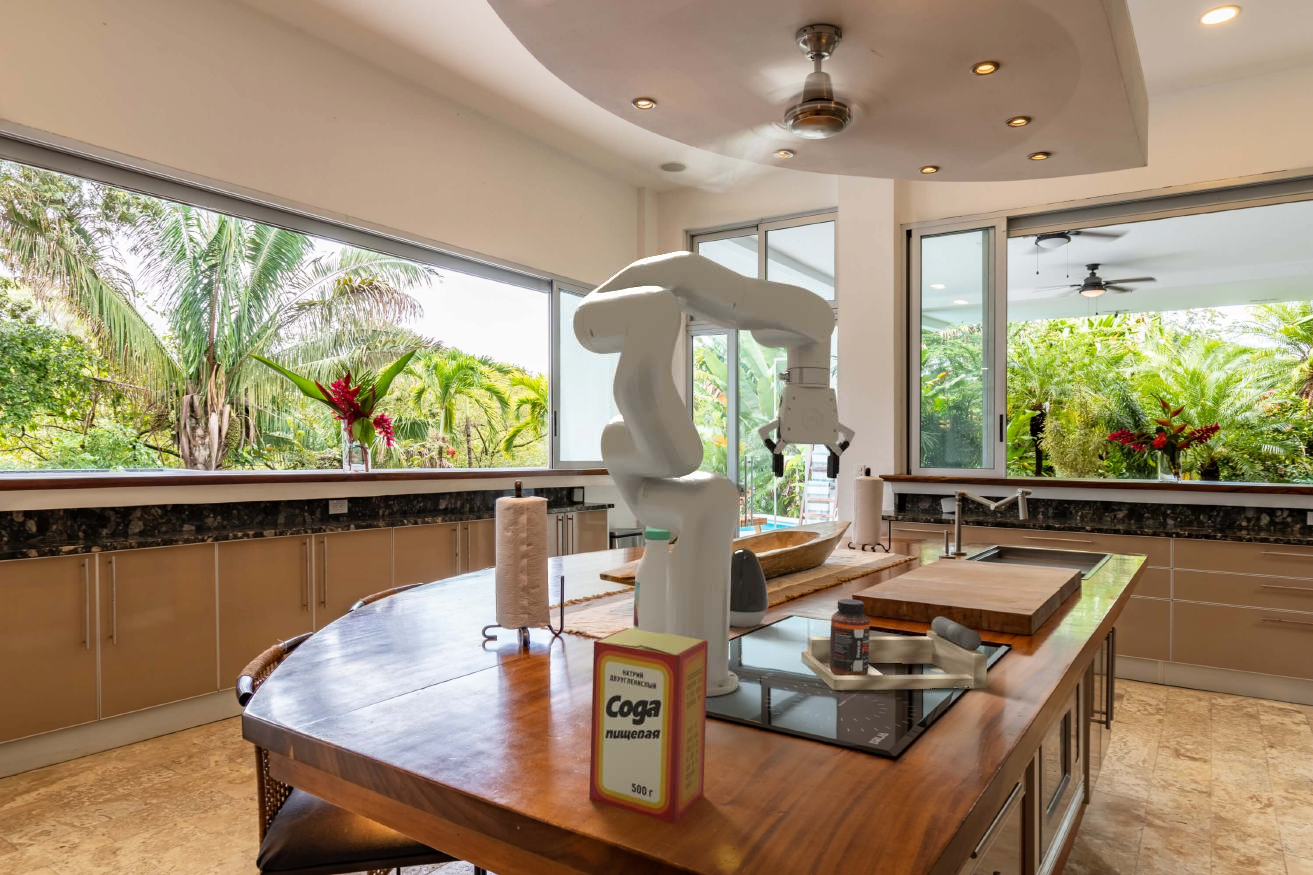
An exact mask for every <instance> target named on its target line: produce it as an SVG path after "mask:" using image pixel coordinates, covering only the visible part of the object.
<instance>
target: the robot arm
mask: <svg viewBox="0 0 1313 875" xmlns="http://www.w3.org/2000/svg"><path fill="white" fill-rule="evenodd" d="M682 313H683V314H687V315H689V316H692V317H695V318H698V319H699V320H703V321H705V322H707V323H711V324H713V325H715V326H717V327H720V328H723V329H727V330H734V331H750V334H751V337H752V339H754V341H755V343H757V344H759V345H760V346H762V347H763V348H769V349H782V348H783V349H786V350H787V351H786V352H787V353H786V354H787V356H786V358H787V359H786V369H785V371H783V372H779V373H778V381H783V382H784V383H785V385H786V386H784V387H782V391H781V394H780V399H779V405H778V411H777V419H775V420H773V421H770V422H769V423H767V424H765V425H763V426H761V427H759V428H758V429H757V433H758V434H759V436H760V439H761V440H762V443H763V445H764V447H766V449H767V450H768V451H769V452H770V454H771V455H772V459H771V460H772V465H771V470H772V473H774V474H773V475H774V477H775V478H783V477H784V474H785V473H784V472H785V470H784V469H785V468H784V467H785V466H784V464H785V455H784V454H783V451H784V449H785V448H786V447H787V446H788V444H791V445H824V447H825V449H826V450H827V451H828V452H829V455H827V459H826V460H827V461H826V477H827V478H828V479H833V480H834V479H835V480H837V479H838V478H837V477H838V475H839V474H840V460H841V459H840V456H841V457H842V455H843V453H845V451H846V450H847V449H848V448H849V447H850V446H851V442H852V441H853V439H854V437H855V436H856V431H855V430H853V429H852V428H849V427H848V426H846V425H844V424H842V423H840V422H839V411H838V410H839V409H838V401H837V395H836V391H835V388H832V387H831V386H830V385H831V356H832V355H831V354H832V351H831V350H832V335H833V334H834V330H835V328H836V327H835V326H836V317H835V313H834V309H833V308H832V306H831V305H830V304H829V302H828V301H827V300H826V299H825V298H823V297H822V296H821V295H820V294H817V293H815V292H813V291H811V290H809V289H806V288H804V287H801V286H798V285H793V284H789V283H783V282H778V281H772V280H766V279H762V278H758V277H757V278H756V277H751V276H750V277H749V276H745V275H742V274H740V273H739V272H737V271H735V270H732V269H730V268H728V267H726V266H724V265H722V264H720V263H718V262H716V261H714V260H712V259H709V258H707V257H705V256H703V255H701V254H699V253H696V252H693V251H685V250H684V251H681V250H680V251H675V252H670V253H665V254H659V255H655V256H649V257H646V258H642V259H639V260H637V261H634V262H633V263H631V264H630V265H629V266H627V267H625V268H624V269H622V270H620V271H619V272H618V273H617V274H615V275H614V276H613V277H611V278H609V280H607V281H606V282H604V283H603V284H601V285H600V286H599V287H597V288H596V289H594V290H593V291H591V292H590V293H588V295H586V296H585V297H584V298H583V299H582V300H581V302H580V303H579V304H578V306H577V308H576V309H575V311H574V315H573V321H572V322H573V323H572V327H573V328H572V329H573V333H574V336H575V338H576V339H577V341H578V343H579V344H580V345H581V346H582V347H583V348H584V349H585V350H587V351H589V352H591V353H594V354H598V355H607V354H608V355H609V354H618V353H619V354H620V356H619V358H618V363H617V366H616V369H615V370H616V371H615V373H614V376H613V377H614V378H613V386H612V394H613V399H614V402H615V404H616V407H617V409H618V412H619V414H617V415H616V416H614V417H613V418H611V419H610V420H609V421H608V422H607V424H606V425H605V426H604V428H603V430H602V434H601V438H600V454H601V458H602V461H603V462H602V463H603V465H604V466H605V468H606V471H607V472H608V474H609V476H610V478H611V480H612V481H613V483H614V485H615V486H616V488H617V490H618V491H619V493H620V495H621V497H622V498H623V500H624V502H625V503H626V505H627V507H628V508H629V510H630V512H631V513H632V515H633V516H634V517H635V519H636V520H638V522H640V523H641V524H642V525H644V526H645V527H647V528H649V529H660V530H667V531H670V532H676V533H679V535H678V538H677V540H676V541H675V543H674V545H673V547H672V549H671V551H670V555H669V558H668V563H667V587H666V621H665V633H667V634H672V635H678V636H683V637H688V638H694V639H699V640H705V641H708V651H707V686H706V697H716V696H721V695H727V694H729V693H732V692H734V691H735V690H737V689H738V687H739V677H738V675H737V674H736V673H735V672H733V671H732V670H729V651H730V626H731V625H730V590H731V558H732V553H733V544H734V537H735V533H736V529H737V528H736V527H737V524H738V523H737V522H738V519H739V515H740V508H741V498H740V491H739V489H738V487H737V486H736V483H734V481H733V480H732V479H731V478H730V477H728V476H726V475H725V474H722V473H719V472H716V471H711V470H703V469H699V468H700V467H701V465H702V463H703V460H704V457H705V454H704V453H705V452H704V445H703V442H702V440H701V436H700V434H699V432H698V430H697V427H696V425H695V423H694V421H693V419H692V417H691V416H690V414H689V411H688V409H687V407H686V405H685V403H684V401H683V399H682V397H681V396H680V393H679V390H678V388H677V386H676V384H675V382H674V381H675V380H674V377H673V372H672V371H673V370H672V368H673V367H672V366H673V359H674V353H675V349H676V345H677V342H678V338H679V335H680V331H681V327H682V320H683V319H682ZM775 429H776V440H777V441H776V442H774V441H773V439H771V436H770V432H772V431H774V430H775ZM839 433H840V434H842V435H843V438H842V440H841V441H840V442H839V443H837V442H838V440H839V436H840V435H839Z"/></svg>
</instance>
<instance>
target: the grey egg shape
mask: <svg viewBox="0 0 1313 875" xmlns="http://www.w3.org/2000/svg"><path fill="white" fill-rule="evenodd" d="M768 593H769V592H768V587H767V582H766V577H765V574H764V570H763V568H762V564H761V563H760V560H759V557H757V555H756V553H755V552H754V551H753V550H751V549H748V548H745V547H743V548H741V547H740V548H738V549H736V550H734V551H732V558H731V590H730V625H729V626H732V627H736V628H745V629H746V628H753V627H756V626H757V625H759V624H760V623H761V622H762V621H763V620H764V618H765V616H766V613H767V610H768V609H769V595H768Z"/></svg>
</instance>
